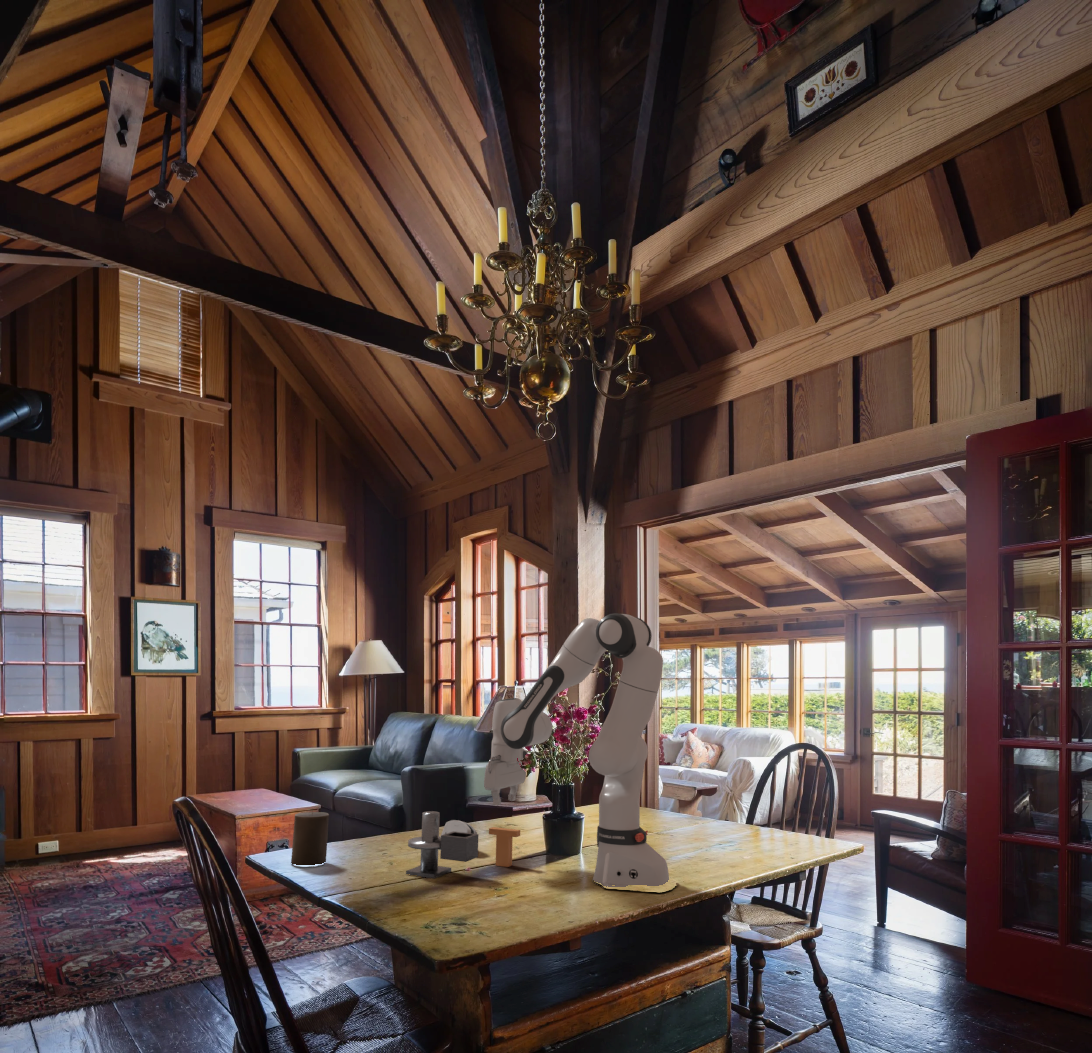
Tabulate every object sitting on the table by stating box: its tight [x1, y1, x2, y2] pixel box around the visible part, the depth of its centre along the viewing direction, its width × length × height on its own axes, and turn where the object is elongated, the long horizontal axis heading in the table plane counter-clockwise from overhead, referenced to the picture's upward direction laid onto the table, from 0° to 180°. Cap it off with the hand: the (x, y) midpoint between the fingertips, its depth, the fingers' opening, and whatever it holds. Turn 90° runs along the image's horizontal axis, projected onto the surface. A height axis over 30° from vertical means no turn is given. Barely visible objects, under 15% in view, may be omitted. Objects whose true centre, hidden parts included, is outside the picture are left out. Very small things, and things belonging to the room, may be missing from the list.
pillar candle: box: [290, 809, 330, 865], centre depth 241 cm, size 10×10×15 cm
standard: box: [405, 810, 479, 880], centre depth 231 cm, size 20×12×16 cm, turn 65°
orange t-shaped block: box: [488, 826, 521, 868], centre depth 242 cm, size 9×2×10 cm, turn 65°
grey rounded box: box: [438, 819, 478, 851], centre depth 260 cm, size 17×5×10 cm, turn 34°
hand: (504, 802), depth 244 cm, fingers open, 8 cm apart
